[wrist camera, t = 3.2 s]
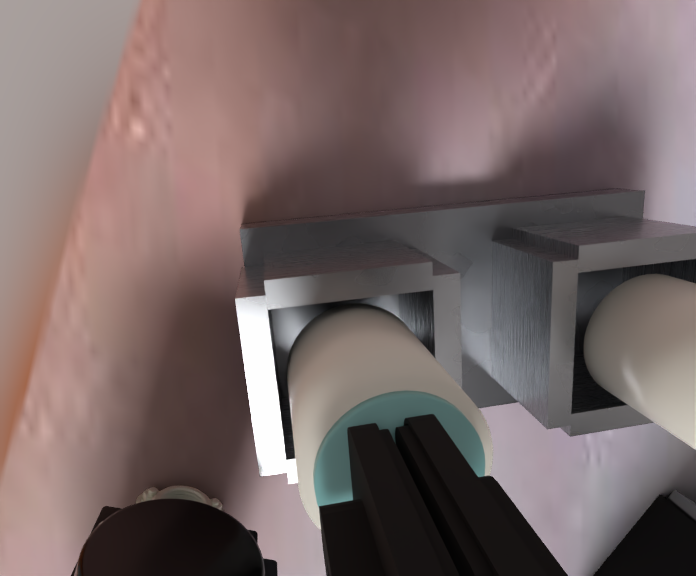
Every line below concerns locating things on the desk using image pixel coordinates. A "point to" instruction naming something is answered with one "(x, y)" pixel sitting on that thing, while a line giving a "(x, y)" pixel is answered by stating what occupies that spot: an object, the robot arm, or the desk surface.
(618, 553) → the electrical component
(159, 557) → the pneumatic valve
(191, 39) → the desk surface
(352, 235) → the mount
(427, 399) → the left knob
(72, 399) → the desk surface
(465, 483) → the robot arm
